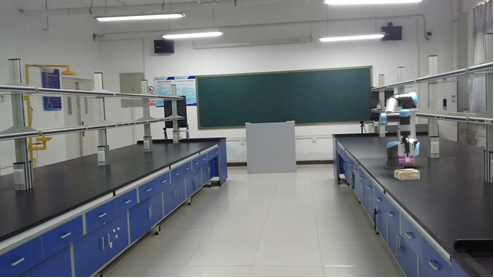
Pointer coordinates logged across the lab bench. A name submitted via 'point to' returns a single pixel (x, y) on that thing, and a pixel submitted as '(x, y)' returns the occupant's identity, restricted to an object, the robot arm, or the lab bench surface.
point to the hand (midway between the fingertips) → (406, 161)
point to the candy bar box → (402, 154)
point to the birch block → (406, 174)
